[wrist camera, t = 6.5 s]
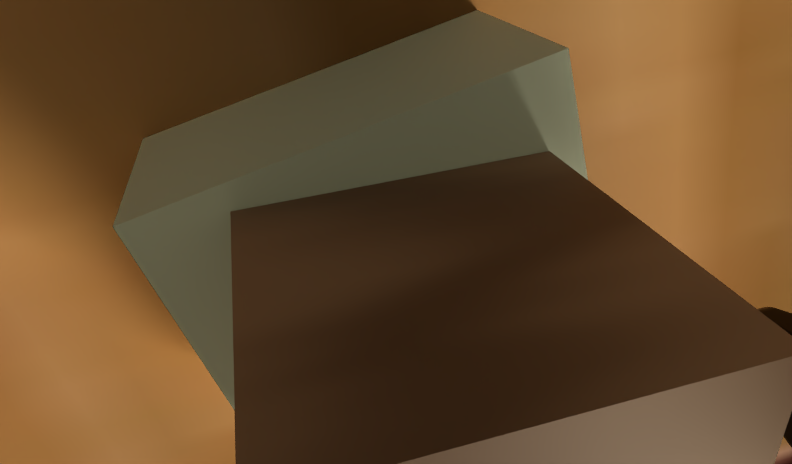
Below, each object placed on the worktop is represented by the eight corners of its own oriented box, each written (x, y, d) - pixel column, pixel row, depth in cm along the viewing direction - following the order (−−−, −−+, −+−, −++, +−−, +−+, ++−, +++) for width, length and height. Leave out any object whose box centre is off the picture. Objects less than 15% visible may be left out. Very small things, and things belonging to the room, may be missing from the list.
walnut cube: (549, 150, 10) (811, 351, 5) (540, 383, 12) (713, 645, 8) (229, 211, 9) (236, 506, 4) (291, 447, 11) (333, 782, 7)
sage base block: (472, 7, 12) (567, 48, 9) (531, 272, 16) (616, 373, 12) (144, 133, 12) (112, 226, 8) (283, 375, 15) (300, 508, 12)
